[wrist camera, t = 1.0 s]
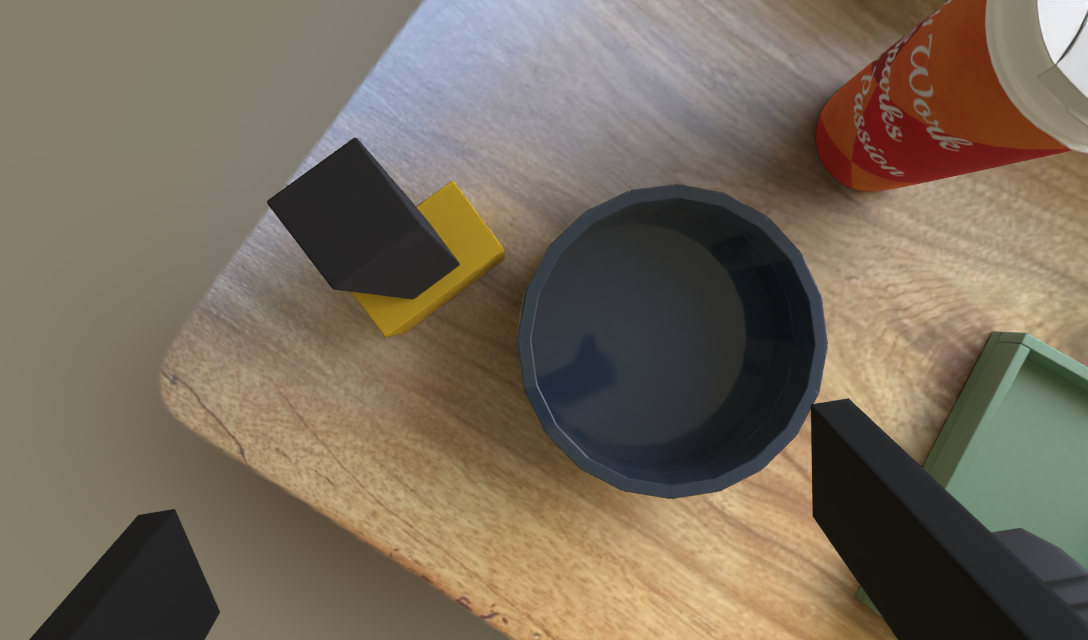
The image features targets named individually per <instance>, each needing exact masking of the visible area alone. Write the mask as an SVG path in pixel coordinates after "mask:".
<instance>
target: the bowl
mask: <svg viewBox="0 0 1088 640" xmlns="http://www.w3.org/2000/svg"><path fill="white" fill-rule="evenodd" d="M516 343H517V350H518V358H519V365H520V372H521V379H522V383H523V387H524V390H525V392H526V394H527V397H528V399H529V401H530V403H531V405H532V407H533V409H534V411H535V413H536V415H537V417H538V419H539V421H540V423H541V425H542V427H543V429H544V431H545V432H546V434H547V435H548V437H549V438H550V439H551V440H552V441H553V442H554V443H555V444H556V445H557V446H558V447H559V448H560V449H561V450H562V451H563V452H564V453H565V454H566V455H567V456H568V457H569V458H570V459H571V460H572V461H573V462H574V463H575V464H576V465H577V466H578V467H579V468H580V469H581V470H583V471H585V472H587V473H589V474H591V475H593V476H595V477H597V478H599V479H600V480H602V481H604V482H606V483H608V484H610V485H612V486H614V487H616V488H618V489H620V490H622V491H625V492H630V493H637V494H643V495H649V496H655V497H661V498H667V499H675V498H681V497H688V496H694V495H700V494H707V493H713V492H718V491H721V490H723V489H725V488H727V487H729V486H731V485H733V484H735V483H737V482H739V481H741V480H743V479H745V478H747V477H749V476H751V475H753V474H755V473H757V472H759V471H761V470H762V469H763V468H764V467H765V466H766V465H767V464H768V463H769V462H770V461H771V460H772V459H773V458H774V457H775V456H776V455H777V454H778V453H780V452H781V451H782V450H783V449H784V448H785V447H786V446H787V445H788V444H789V443H790V442H791V441H792V440H793V439H794V438H795V437H796V435H797V434H798V432H799V430H800V428H801V427H802V425H803V423H804V421H805V419H806V417H807V415H808V413H809V411H810V409H811V405H812V404H814V402H815V400H816V398H817V396H818V394H819V393H818V392H819V391H820V386H821V380H822V375H823V369H824V364H825V358H826V353H827V347H828V345H827V344H828V342H827V334H826V326H825V318H824V310H823V302H822V297H821V294H820V292H819V290H818V287H817V285H816V283H815V281H814V279H813V277H812V274H811V272H810V270H809V268H808V266H807V264H806V261H805V259H804V257H803V255H802V253H801V252H800V251H799V250H798V249H797V248H796V246H795V245H794V244H793V243H792V242H791V241H790V240H789V239H788V238H787V237H786V236H785V235H784V233H783V232H782V231H781V230H780V229H779V228H778V227H777V226H776V225H775V224H774V223H773V222H772V220H771V219H770V218H768V217H767V216H766V215H764V214H762V213H760V212H759V211H757V210H755V209H753V208H751V207H750V206H748V205H746V204H744V203H743V202H741V201H739V200H737V199H735V198H734V197H732V196H730V195H728V194H725V193H722V192H716V191H711V190H706V189H701V188H696V187H691V186H686V185H681V184H680V185H678V184H675V185H667V186H659V187H651V188H643V189H635V190H631V191H627V192H625V193H623V194H621V195H619V196H617V197H615V198H612V199H610V200H608V201H606V202H604V203H602V204H600V205H598V206H596V207H594V208H592V209H589V210H587V211H586V212H585V213H583V214H582V215H581V216H580V217H579V218H578V219H577V220H576V221H575V222H574V223H573V224H572V225H571V226H570V227H569V228H567V229H566V230H565V231H564V232H563V233H562V234H561V235H560V236H559V237H558V238H557V239H556V240H555V241H554V242H553V243H552V244H551V245H550V246H549V247H548V249H547V250H546V252H545V253H544V255H543V257H542V258H541V260H540V262H539V264H538V266H537V268H536V270H535V272H534V273H533V275H532V277H531V279H530V281H529V283H528V285H527V286H526V288H525V290H524V293H523V297H522V302H521V307H520V313H519V319H518V324H517V330H516Z"/></svg>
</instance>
